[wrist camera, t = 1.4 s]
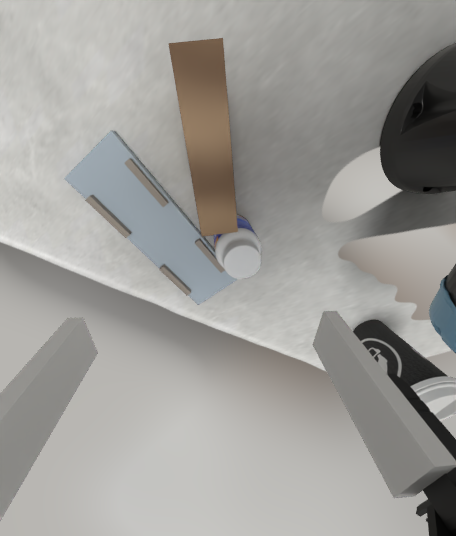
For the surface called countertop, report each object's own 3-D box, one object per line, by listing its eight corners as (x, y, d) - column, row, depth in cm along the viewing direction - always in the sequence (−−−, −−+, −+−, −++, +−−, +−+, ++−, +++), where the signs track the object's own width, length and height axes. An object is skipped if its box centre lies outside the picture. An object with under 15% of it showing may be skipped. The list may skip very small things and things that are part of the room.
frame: (185, 93, 21) (166, 43, 12) (216, 90, 22) (222, 38, 12) (203, 208, 27) (200, 236, 18) (227, 205, 27) (237, 231, 18)
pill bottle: (207, 221, 28) (206, 250, 20) (243, 207, 28) (259, 229, 19) (221, 254, 31) (226, 291, 22) (255, 241, 30) (273, 275, 22)
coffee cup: (360, 353, 45) (421, 432, 32) (335, 335, 42) (393, 417, 29) (399, 327, 42) (484, 404, 29) (375, 306, 39) (460, 383, 26)
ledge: (115, 131, 22) (108, 129, 21) (236, 276, 33) (238, 282, 31) (69, 177, 24) (59, 179, 23) (198, 301, 35) (198, 308, 33)
